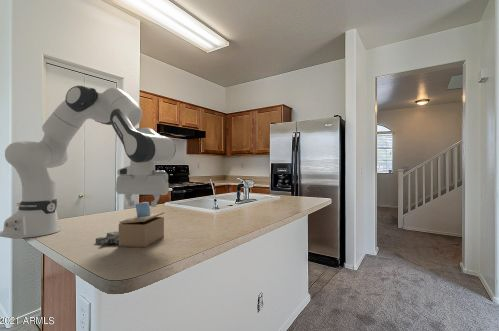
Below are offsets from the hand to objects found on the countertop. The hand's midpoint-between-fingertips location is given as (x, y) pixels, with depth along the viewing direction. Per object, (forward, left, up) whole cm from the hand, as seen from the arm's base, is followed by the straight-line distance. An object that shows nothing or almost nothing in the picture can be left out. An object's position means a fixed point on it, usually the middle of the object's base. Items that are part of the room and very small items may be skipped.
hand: (142, 206), depth 97 cm
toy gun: (-10, +4, -14) cm, 18 cm away
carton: (+1, -1, -13) cm, 13 cm away
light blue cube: (+1, 0, -4) cm, 4 cm away
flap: (+1, -1, -4) cm, 5 cm away
